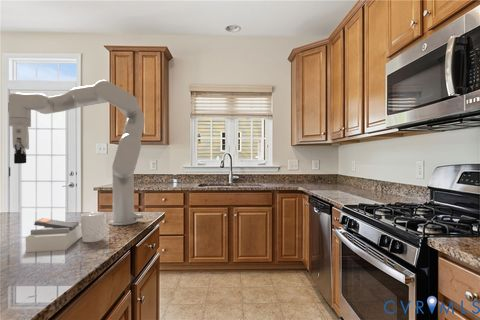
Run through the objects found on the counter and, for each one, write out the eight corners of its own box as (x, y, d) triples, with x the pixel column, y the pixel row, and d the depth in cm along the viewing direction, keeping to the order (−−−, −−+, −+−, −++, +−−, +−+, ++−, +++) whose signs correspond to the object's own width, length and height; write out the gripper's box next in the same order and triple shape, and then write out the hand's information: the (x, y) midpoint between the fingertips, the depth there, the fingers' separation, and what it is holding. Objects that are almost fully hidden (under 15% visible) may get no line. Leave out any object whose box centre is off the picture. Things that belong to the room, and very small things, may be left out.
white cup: (108, 238, 114) (108, 212, 114) (92, 243, 107) (92, 216, 107) (92, 236, 117) (92, 211, 117) (75, 241, 109) (75, 214, 109)
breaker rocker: (76, 226, 111) (77, 222, 111) (71, 230, 106) (72, 226, 106) (41, 221, 109) (42, 217, 109) (34, 225, 103) (34, 221, 103)
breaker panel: (82, 236, 117) (82, 219, 117) (66, 249, 100) (65, 230, 100) (48, 237, 115) (48, 221, 115) (25, 252, 97) (25, 232, 97)
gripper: (29, 121, 120) (29, 163, 120) (32, 125, 134) (32, 162, 135) (5, 120, 116) (6, 163, 116) (11, 124, 131) (12, 163, 131)
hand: (20, 163), depth 125 cm, fingers open, 9 cm apart
